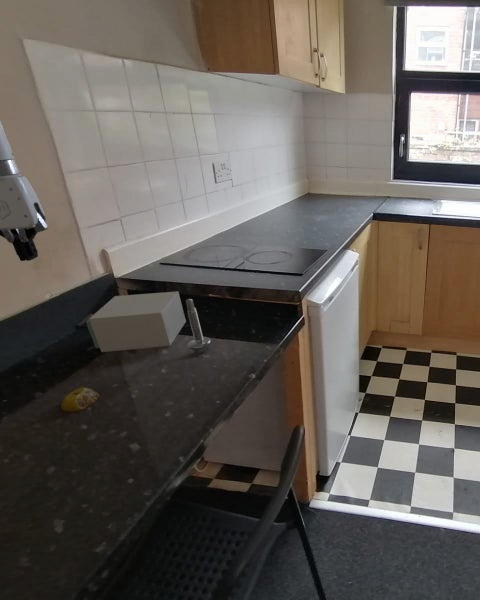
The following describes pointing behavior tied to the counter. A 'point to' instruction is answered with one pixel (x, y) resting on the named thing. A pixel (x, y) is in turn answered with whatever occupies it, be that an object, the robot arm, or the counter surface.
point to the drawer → (86, 324)
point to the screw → (196, 330)
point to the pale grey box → (138, 321)
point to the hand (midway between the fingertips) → (29, 258)
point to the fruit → (79, 399)
